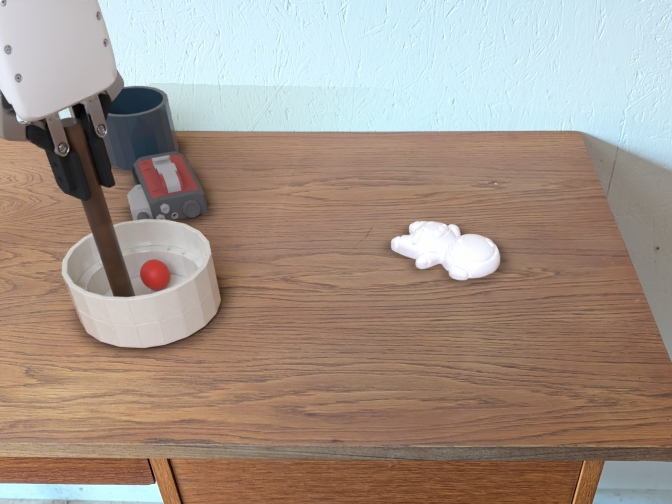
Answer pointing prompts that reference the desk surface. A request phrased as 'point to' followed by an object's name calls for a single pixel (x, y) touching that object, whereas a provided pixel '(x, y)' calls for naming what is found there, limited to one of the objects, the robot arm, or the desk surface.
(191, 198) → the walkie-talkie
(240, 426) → the desk surface
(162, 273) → the red ball
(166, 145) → the crock
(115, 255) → the stick
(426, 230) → the white animal figurine
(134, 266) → the bowl
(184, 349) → the desk surface
